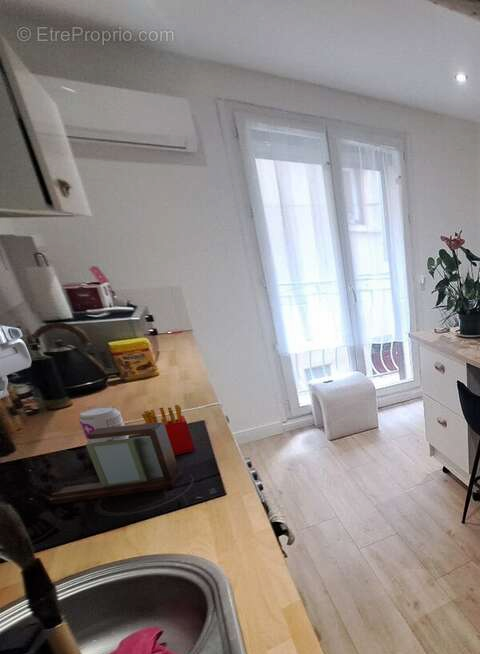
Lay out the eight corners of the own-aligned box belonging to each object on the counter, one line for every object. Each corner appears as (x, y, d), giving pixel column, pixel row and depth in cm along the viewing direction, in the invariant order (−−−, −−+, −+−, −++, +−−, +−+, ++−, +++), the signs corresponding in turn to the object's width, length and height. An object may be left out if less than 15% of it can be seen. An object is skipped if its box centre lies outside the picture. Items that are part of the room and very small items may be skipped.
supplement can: (101, 467, 116) (82, 418, 111) (92, 459, 120) (73, 412, 115) (138, 455, 123) (122, 409, 117) (128, 448, 127) (112, 403, 121)
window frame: (51, 505, 99) (22, 443, 93) (67, 492, 104) (41, 432, 98) (172, 487, 107) (153, 429, 101) (181, 476, 113) (164, 420, 107)
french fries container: (153, 453, 124) (139, 410, 119) (191, 444, 130) (179, 403, 126) (156, 461, 120) (141, 417, 115) (195, 451, 126) (183, 409, 121)
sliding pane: (102, 487, 103) (85, 444, 99) (104, 486, 104) (87, 443, 100) (147, 481, 106) (132, 439, 102) (148, 480, 107) (134, 438, 103)
